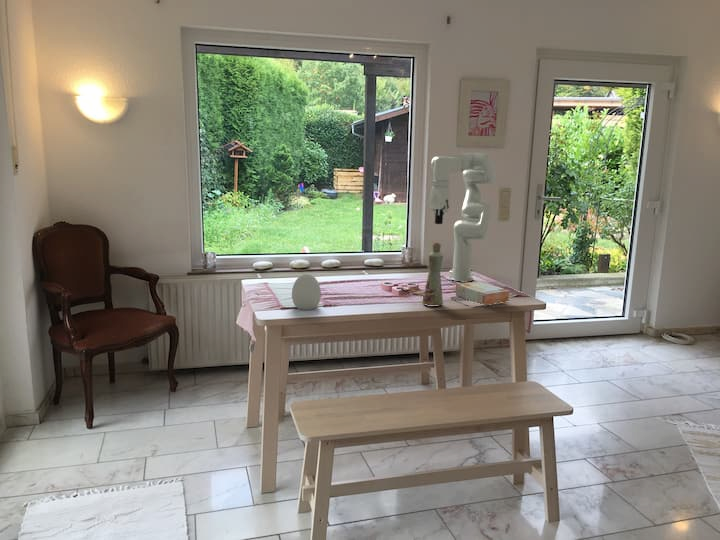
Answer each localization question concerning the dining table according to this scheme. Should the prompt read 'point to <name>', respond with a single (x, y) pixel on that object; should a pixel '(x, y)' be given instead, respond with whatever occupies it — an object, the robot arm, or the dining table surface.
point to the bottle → (434, 278)
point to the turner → (417, 292)
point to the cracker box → (482, 292)
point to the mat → (459, 298)
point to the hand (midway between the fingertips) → (438, 223)
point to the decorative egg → (306, 292)
